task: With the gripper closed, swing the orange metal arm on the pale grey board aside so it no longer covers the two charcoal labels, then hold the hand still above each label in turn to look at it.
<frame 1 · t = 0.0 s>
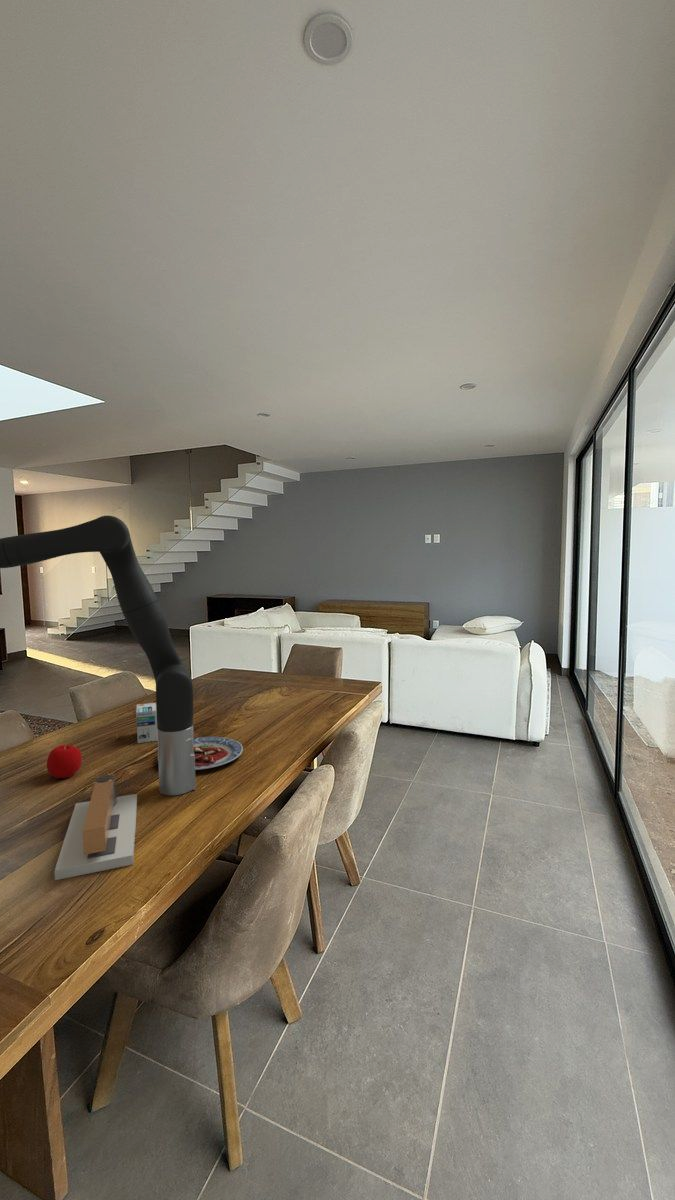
label board: (101, 835, 111), on the table
ceramic plate: (201, 759, 154), on the table
light bulb box: (147, 737, 172), on the table
swing arm: (100, 809, 110), point 6 cm above the table, hinge at 0.0°
fruit: (65, 776, 142), on the table
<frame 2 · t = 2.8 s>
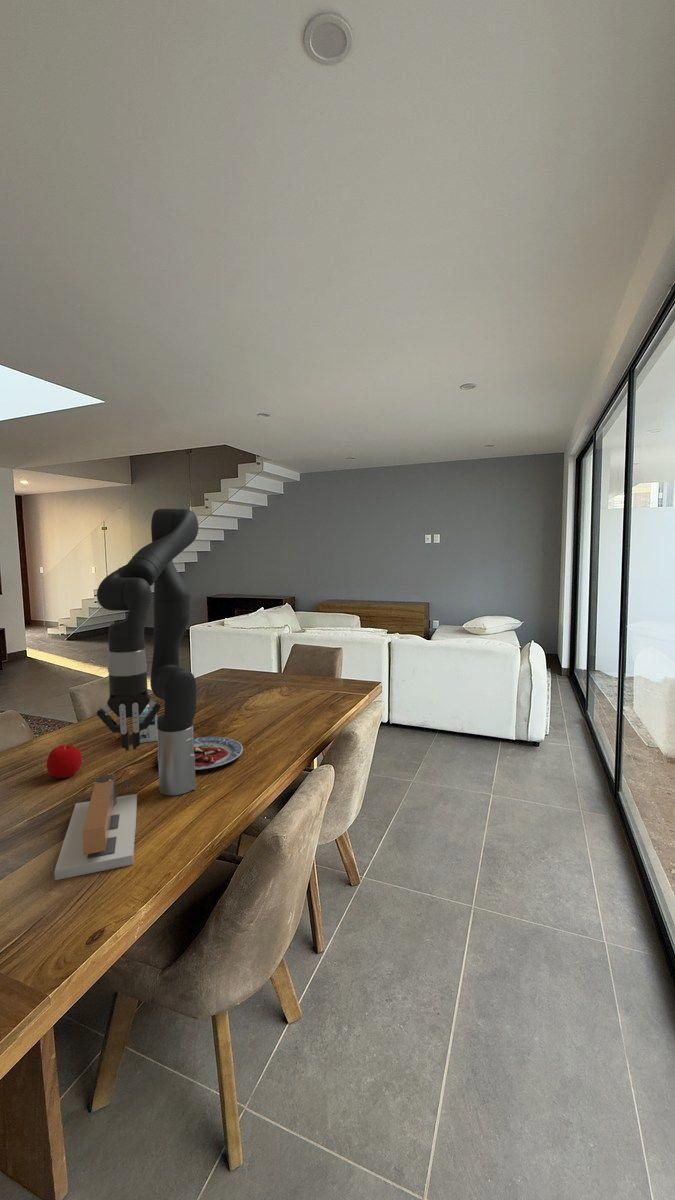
hand: (131, 748, 107), 21 cm above the table, tool pointing down, fingers closed
nothing on the table moved.
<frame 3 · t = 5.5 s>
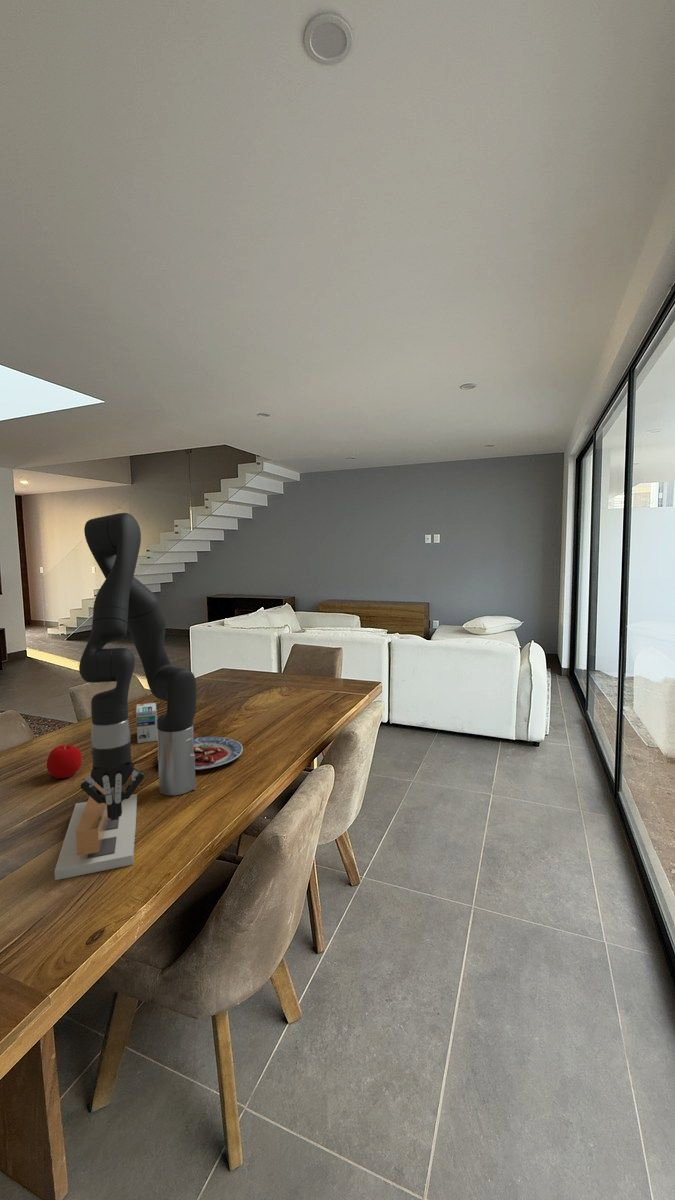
hand: (114, 818, 106), 6 cm above the table, tool pointing down, fingers closed
swing arm: (98, 809, 110), point 6 cm above the table, hinge at 2.9°, touching gripper
everything else where it was.
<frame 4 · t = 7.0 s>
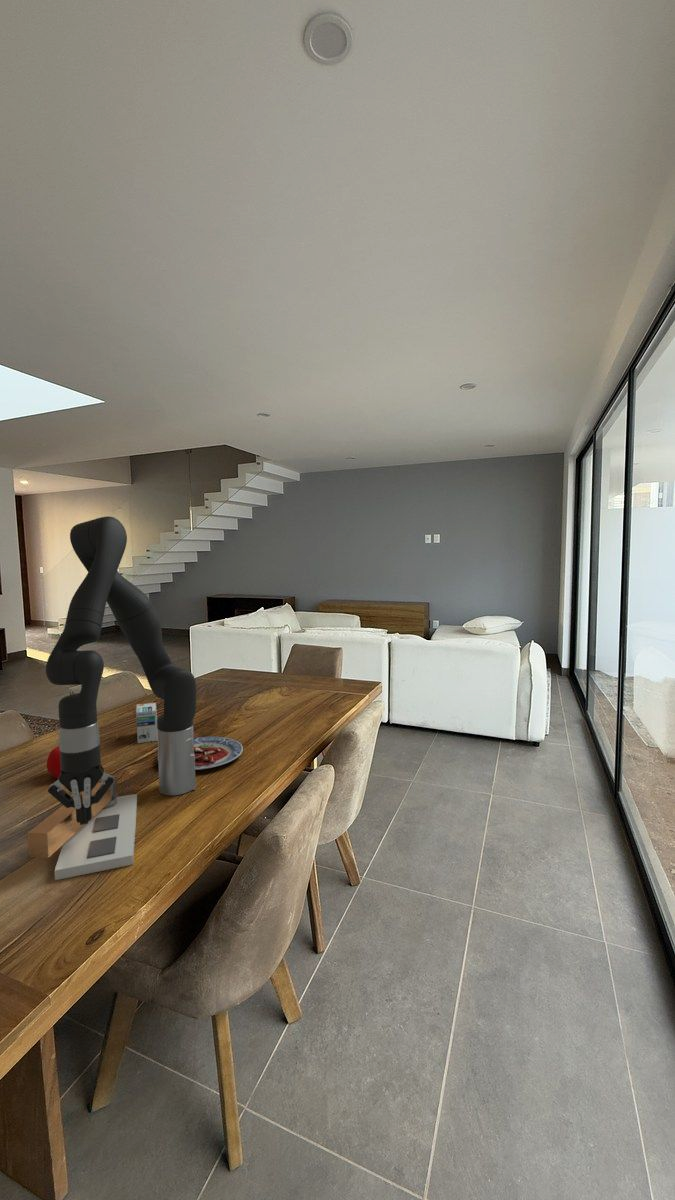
hand: (84, 822, 105), 6 cm above the table, tool pointing down, fingers closed
swing arm: (78, 811, 110), point 6 cm above the table, hinge at 25.1°, touching gripper
everything else where it was.
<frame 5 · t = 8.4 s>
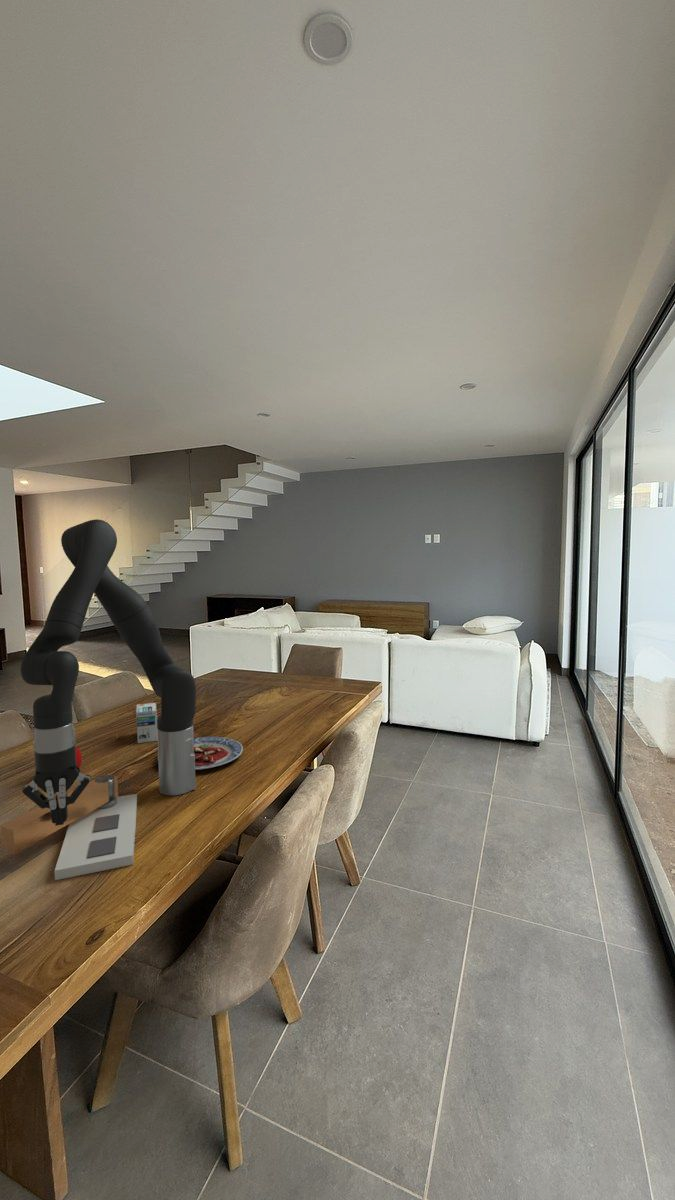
hand: (60, 823, 105), 6 cm above the table, tool pointing down, fingers closed
swing arm: (65, 809, 110), point 6 cm above the table, hinge at 42.9°, touching gripper
everything else where it was.
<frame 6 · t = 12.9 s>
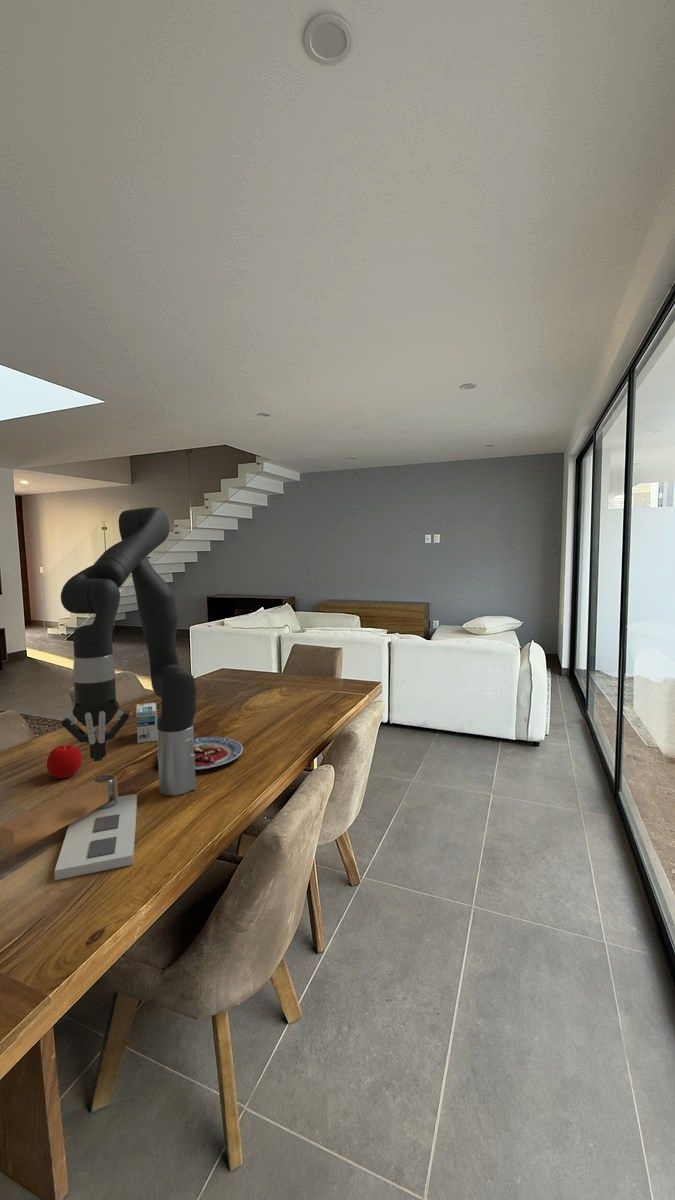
hand: (98, 759, 101), 21 cm above the table, tool pointing down, fingers closed
swing arm: (65, 809, 110), point 6 cm above the table, hinge at 43.0°
everything else where it was.
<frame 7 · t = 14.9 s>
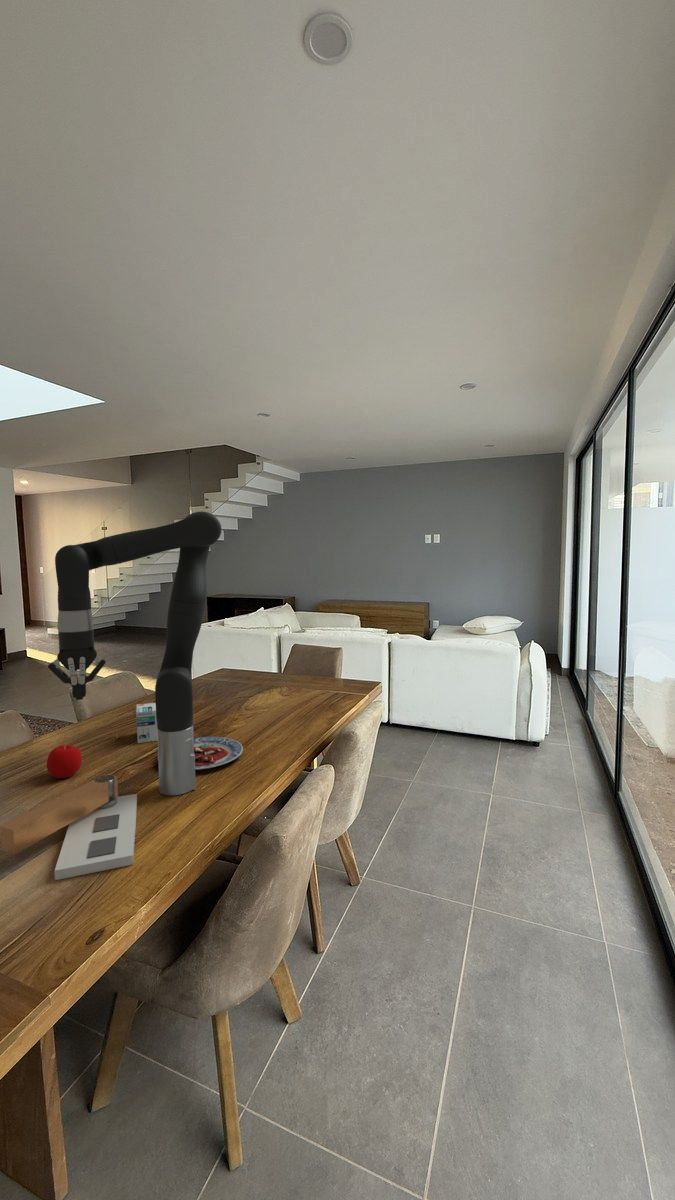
hand: (79, 698, 119), 28 cm above the table, tool pointing down, fingers closed
nothing on the table moved.
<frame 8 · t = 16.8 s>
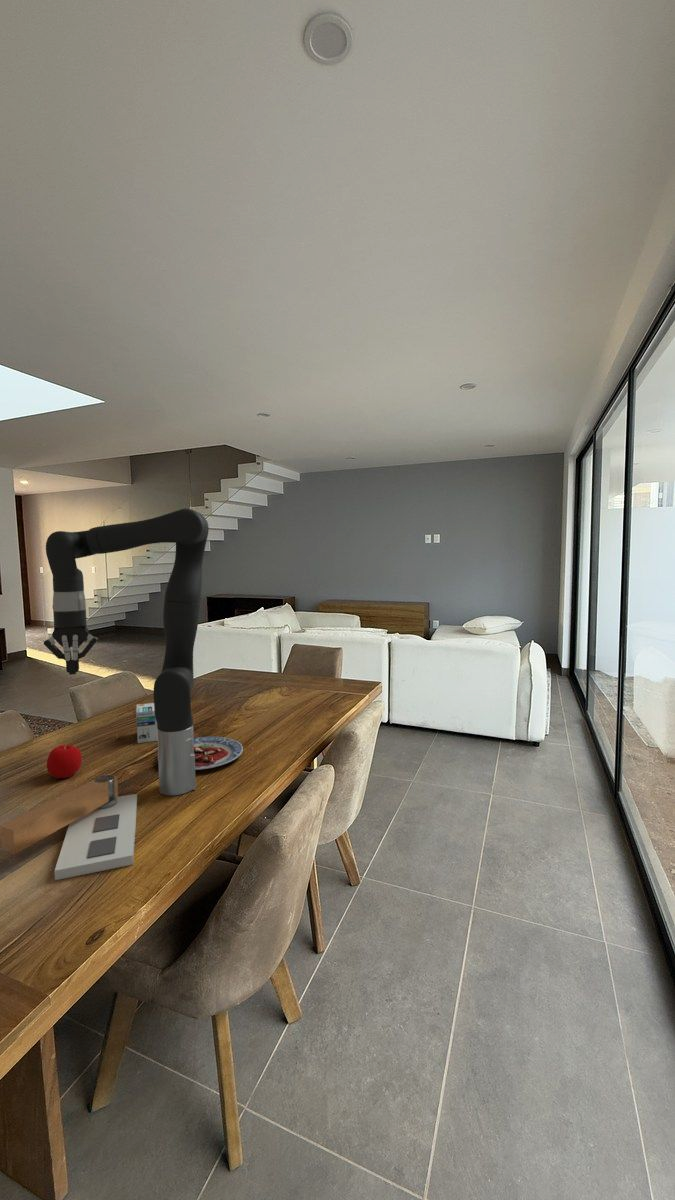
hand: (72, 673, 129), 32 cm above the table, tool pointing down, fingers closed
nothing on the table moved.
at the end: swing arm at +43° (first picture: +0°); fruit moved 0.3 cm from its start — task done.
